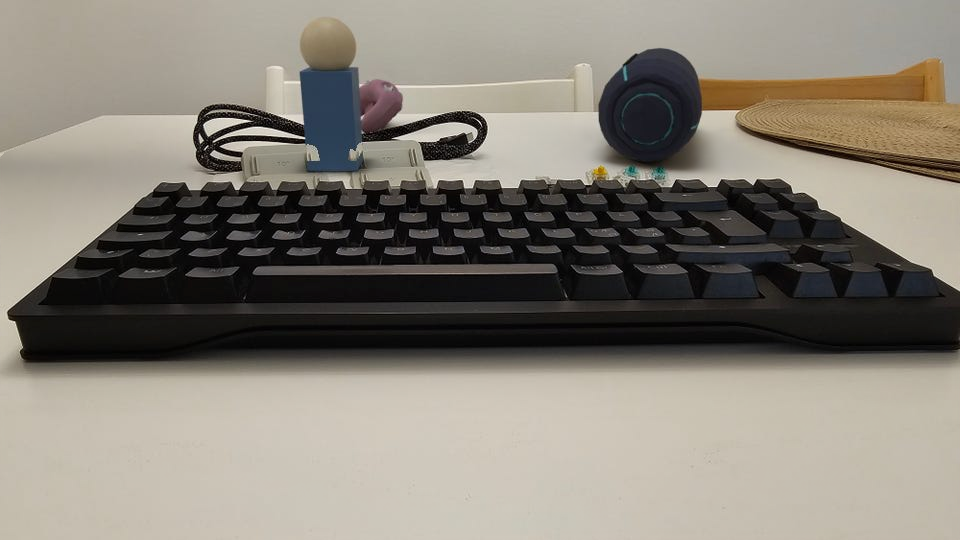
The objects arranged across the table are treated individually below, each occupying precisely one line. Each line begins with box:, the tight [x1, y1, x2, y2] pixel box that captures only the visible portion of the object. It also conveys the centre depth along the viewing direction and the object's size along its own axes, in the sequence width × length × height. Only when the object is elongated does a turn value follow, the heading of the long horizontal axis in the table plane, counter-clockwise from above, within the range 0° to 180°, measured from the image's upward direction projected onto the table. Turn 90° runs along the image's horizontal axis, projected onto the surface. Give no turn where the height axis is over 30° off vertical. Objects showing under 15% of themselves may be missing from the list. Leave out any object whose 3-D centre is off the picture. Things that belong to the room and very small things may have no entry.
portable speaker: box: [597, 47, 703, 163], centre depth 75 cm, size 25×10×10 cm, turn 164°
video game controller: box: [359, 78, 404, 134], centre depth 86 cm, size 10×5×7 cm, turn 29°
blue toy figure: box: [299, 16, 364, 172], centre depth 64 cm, size 5×5×14 cm
